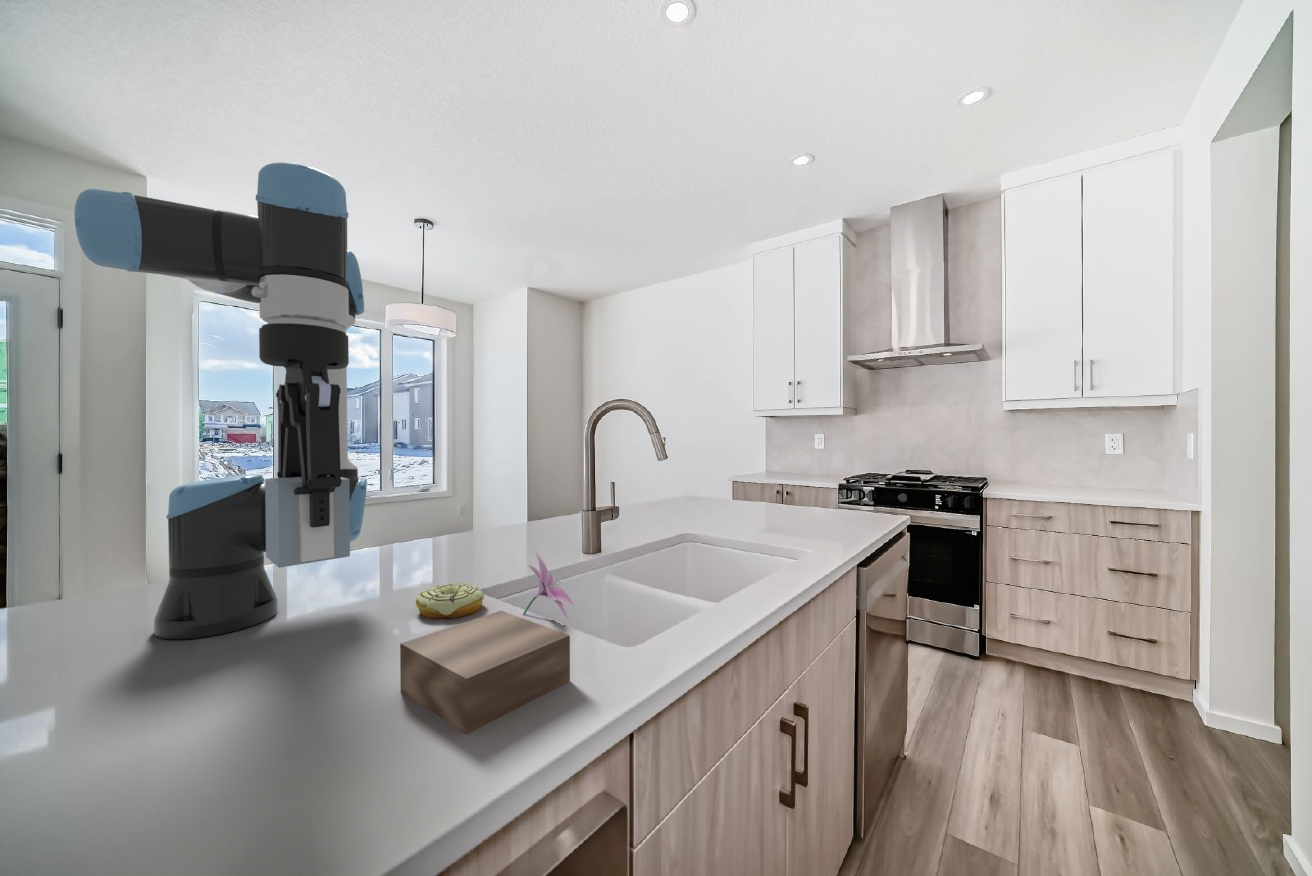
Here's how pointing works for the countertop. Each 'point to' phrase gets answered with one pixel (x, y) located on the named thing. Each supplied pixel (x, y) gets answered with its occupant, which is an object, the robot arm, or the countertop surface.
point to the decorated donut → (449, 600)
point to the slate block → (287, 524)
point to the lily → (549, 587)
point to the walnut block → (483, 668)
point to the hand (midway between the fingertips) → (308, 552)
